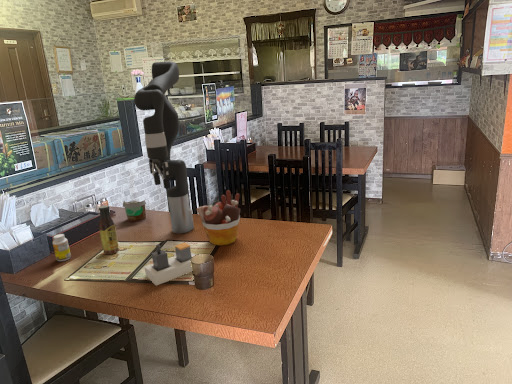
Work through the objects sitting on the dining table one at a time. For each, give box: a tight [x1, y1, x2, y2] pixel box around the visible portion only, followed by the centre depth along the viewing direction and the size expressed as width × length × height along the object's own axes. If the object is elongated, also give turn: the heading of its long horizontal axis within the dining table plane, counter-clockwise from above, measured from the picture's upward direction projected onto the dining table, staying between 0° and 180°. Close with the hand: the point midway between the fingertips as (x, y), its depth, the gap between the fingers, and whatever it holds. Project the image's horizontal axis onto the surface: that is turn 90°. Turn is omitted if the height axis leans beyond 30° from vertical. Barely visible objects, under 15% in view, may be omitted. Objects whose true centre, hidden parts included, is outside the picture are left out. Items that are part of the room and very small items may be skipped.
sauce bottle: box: [98, 204, 119, 255], centre depth 162 cm, size 7×6×20 cm
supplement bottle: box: [52, 233, 72, 262], centre depth 159 cm, size 6×6×10 cm
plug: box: [174, 242, 192, 263], centre depth 143 cm, size 4×4×8 cm
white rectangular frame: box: [144, 244, 196, 287], centre depth 140 cm, size 18×9×12 cm, turn 127°
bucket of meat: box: [196, 189, 241, 247], centre depth 165 cm, size 20×16×20 cm
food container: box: [122, 199, 147, 223], centre depth 200 cm, size 12×6×10 cm, turn 81°
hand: (162, 186), depth 151 cm, fingers open, 8 cm apart
